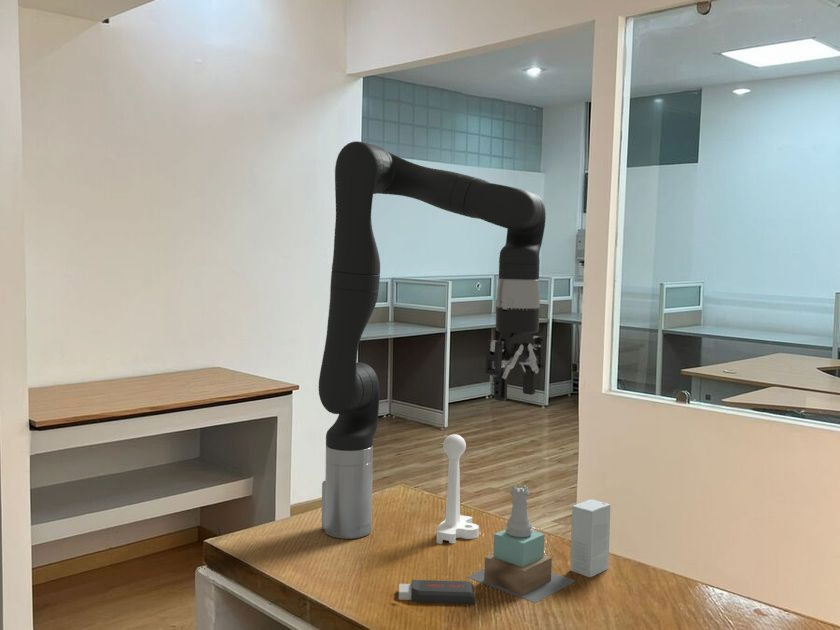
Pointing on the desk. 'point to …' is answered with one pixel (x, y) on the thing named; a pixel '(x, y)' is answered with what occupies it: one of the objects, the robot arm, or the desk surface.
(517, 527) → the rook chess piece
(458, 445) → the white ball-topped post
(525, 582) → the walnut block
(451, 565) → the desk surface
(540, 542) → the teal block
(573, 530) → the skincare box
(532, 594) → the mat
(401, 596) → the usb drive
